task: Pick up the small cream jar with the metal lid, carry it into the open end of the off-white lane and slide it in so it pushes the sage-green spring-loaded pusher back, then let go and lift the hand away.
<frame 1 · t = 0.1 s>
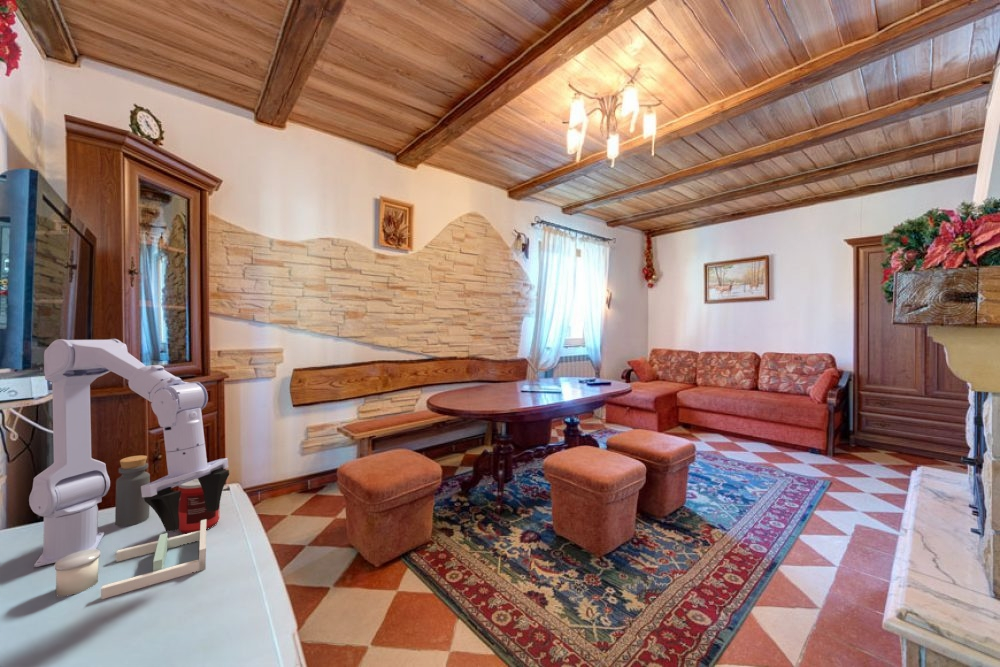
hand: (193, 519, 70), 11 cm above the table, tool pointing down, fingers open, 7 cm apart
lane: (160, 564, 74), on the table
bottle: (132, 521, 90), on the table
canned food: (198, 526, 88), on the table
pusher: (160, 554, 74), point 2 cm above the table, slide at 0.0 cm
jar: (77, 586, 67), on the table
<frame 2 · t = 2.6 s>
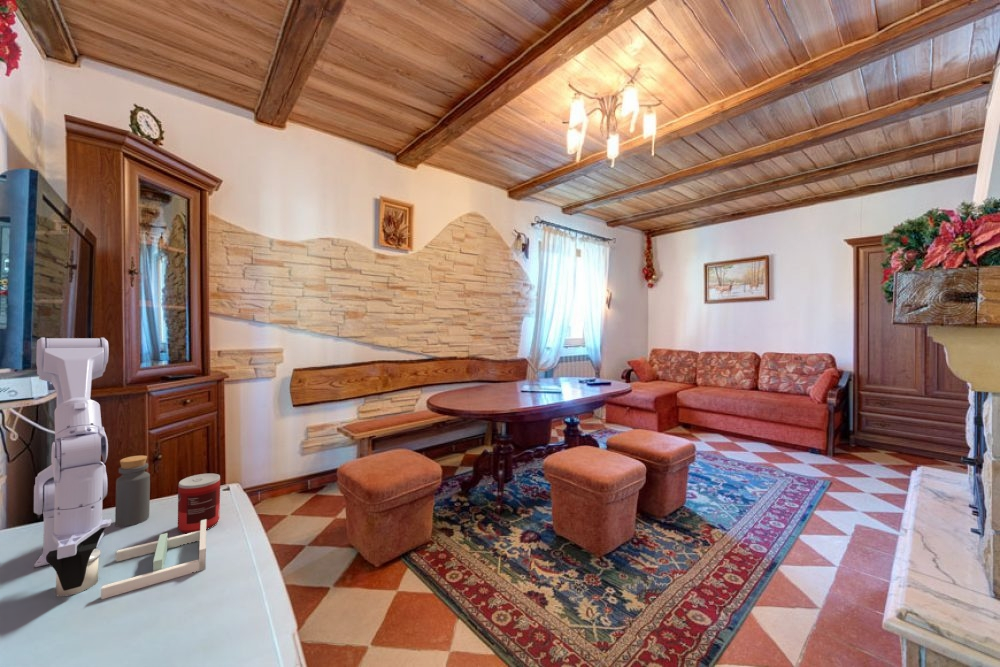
hand: (77, 578, 67), 1 cm above the table, tool pointing down, fingers closed on jar, 5 cm apart
jar: (77, 586, 67), on the table, touching gripper
everything else where it was.
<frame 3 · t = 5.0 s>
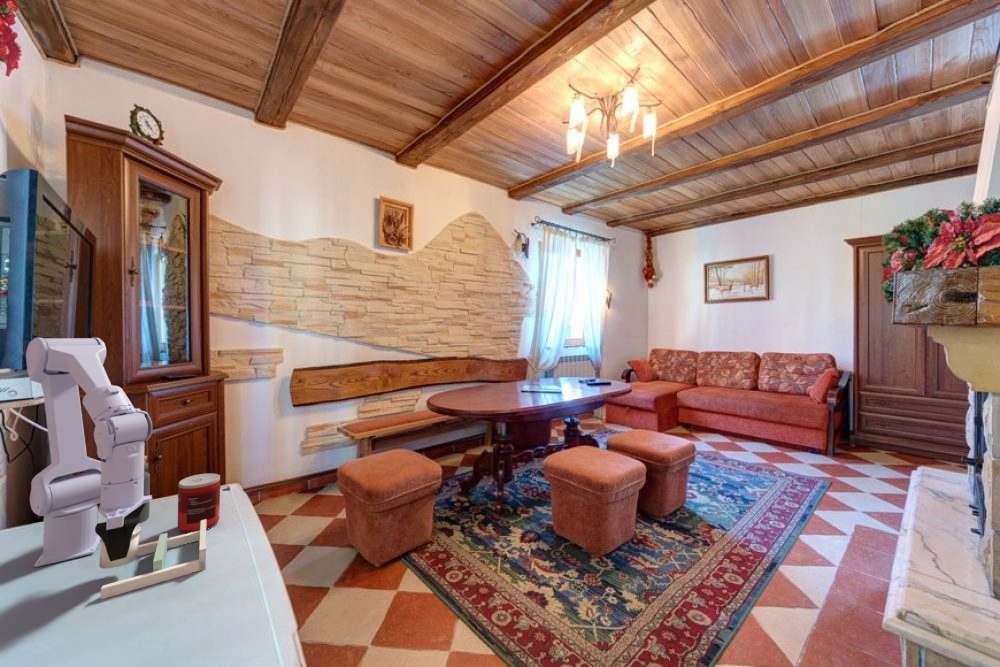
hand: (121, 551, 70), 4 cm above the table, tool pointing down, fingers closed on jar, 5 cm apart
jar: (118, 560, 70), point 3 cm above the table, touching gripper
everything else where it was.
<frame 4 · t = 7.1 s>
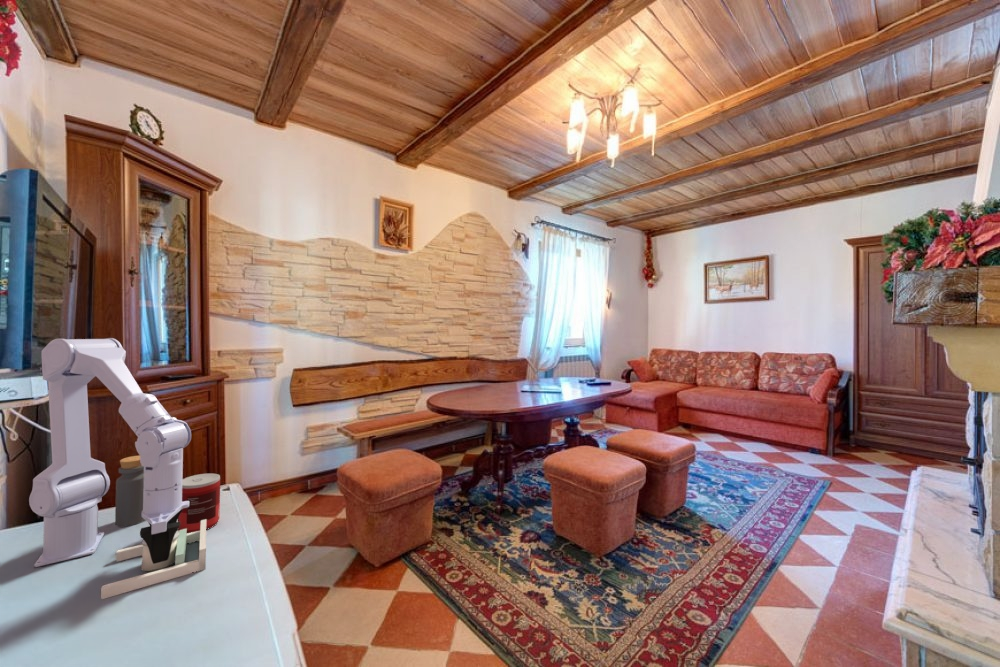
hand: (162, 554, 74), 2 cm above the table, tool pointing down, fingers closed on jar, 5 cm apart
pusher: (181, 549, 75), point 2 cm above the table, slide at 3.1 cm
jar: (158, 563, 73), on the table, touching gripper
everything else where it was.
when the fingers open (2 cm above the table, at t = 7.4 s): jar stays where it is, on the table.
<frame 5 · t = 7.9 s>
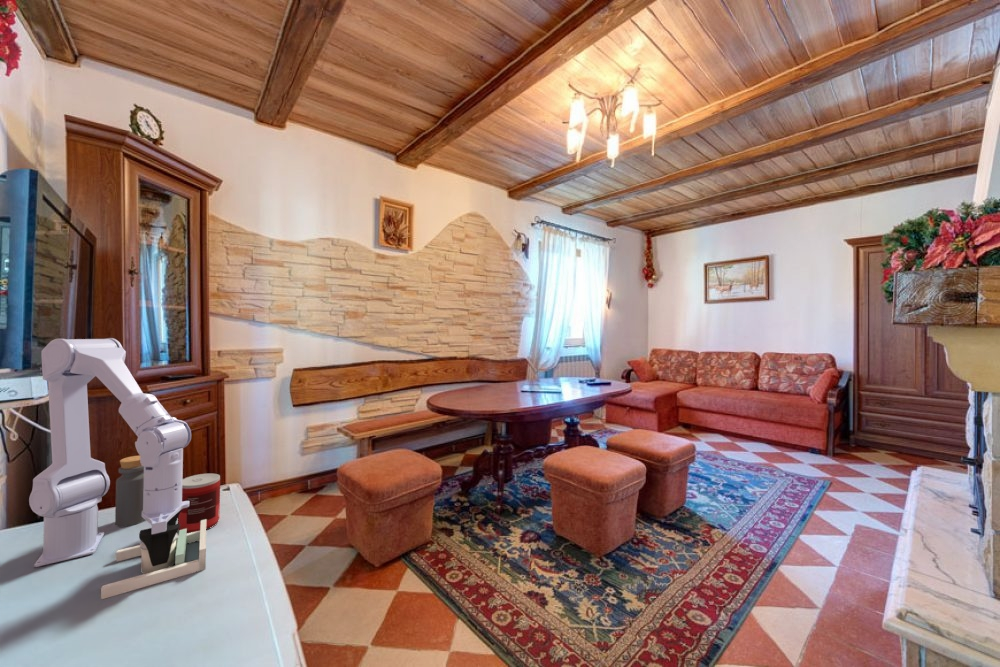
hand: (162, 554, 74), 2 cm above the table, tool pointing down, fingers open, 7 cm apart
jar: (158, 565, 73), on the table
everything else where it was.
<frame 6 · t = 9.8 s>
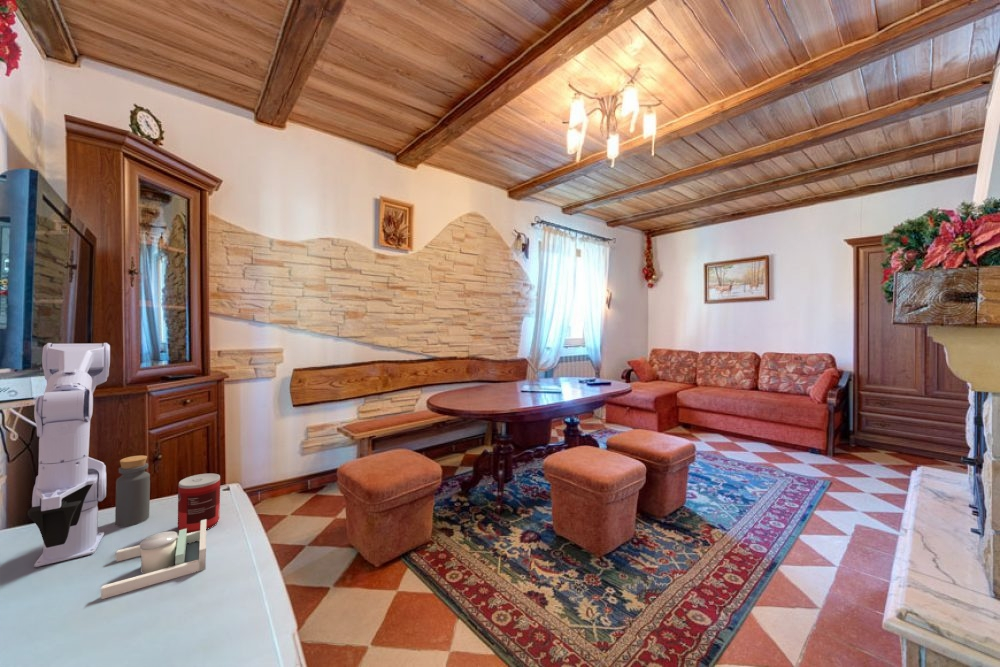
hand: (62, 535, 66), 9 cm above the table, tool pointing down, fingers open, 7 cm apart
nothing on the table moved.
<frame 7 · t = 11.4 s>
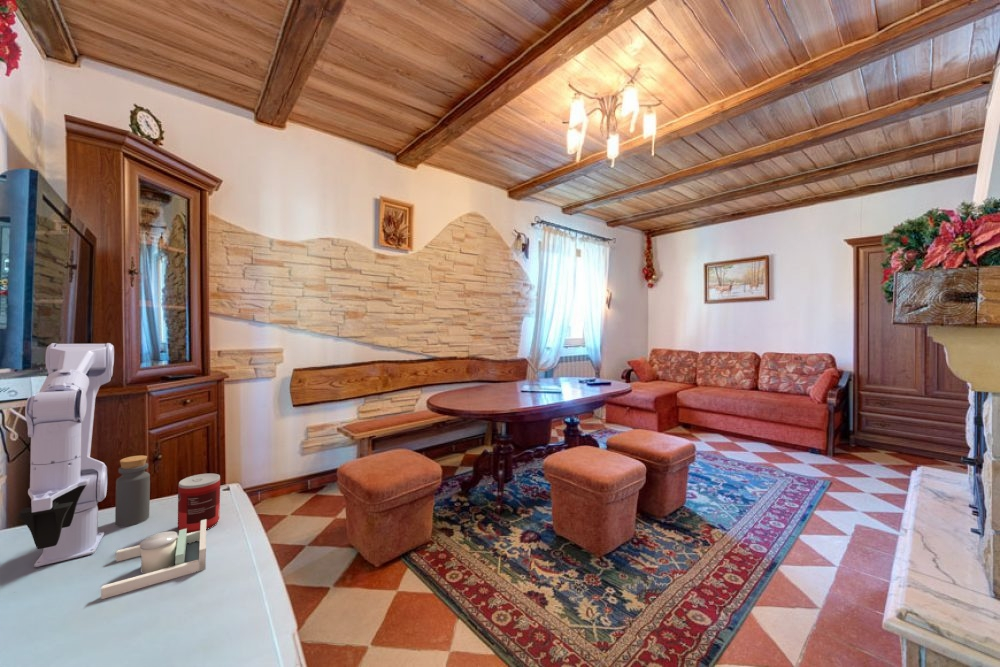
hand: (54, 536, 66), 9 cm above the table, tool pointing down, fingers open, 7 cm apart
nothing on the table moved.
at the end: jar inside the target area (1.0 cm from its centre), on the table; jar tilted 0°; pusher slide at 3.1 cm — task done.
